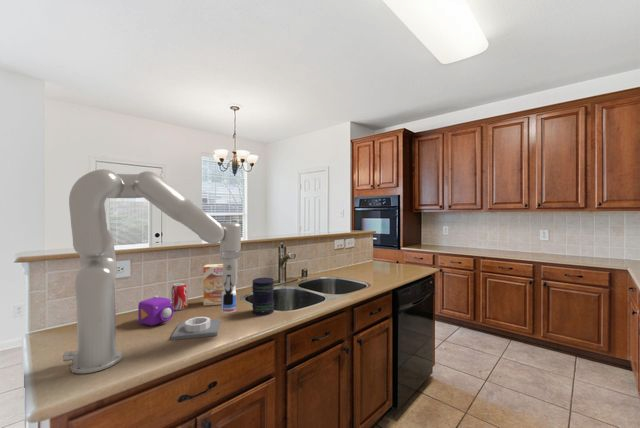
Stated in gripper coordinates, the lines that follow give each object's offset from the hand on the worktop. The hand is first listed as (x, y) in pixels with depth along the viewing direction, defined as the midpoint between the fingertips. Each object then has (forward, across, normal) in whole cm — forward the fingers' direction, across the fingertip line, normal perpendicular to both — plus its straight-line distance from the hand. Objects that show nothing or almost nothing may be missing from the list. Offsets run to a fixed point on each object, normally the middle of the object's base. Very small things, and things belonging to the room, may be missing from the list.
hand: (228, 301), depth 111 cm
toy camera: (+13, +19, +30) cm, 38 cm away
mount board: (+13, +6, +12) cm, 18 cm away
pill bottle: (+4, 0, 0) cm, 4 cm away
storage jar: (+12, +21, -14) cm, 28 cm away
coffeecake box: (+12, +40, +7) cm, 43 cm away
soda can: (+13, +35, +25) cm, 45 cm away
